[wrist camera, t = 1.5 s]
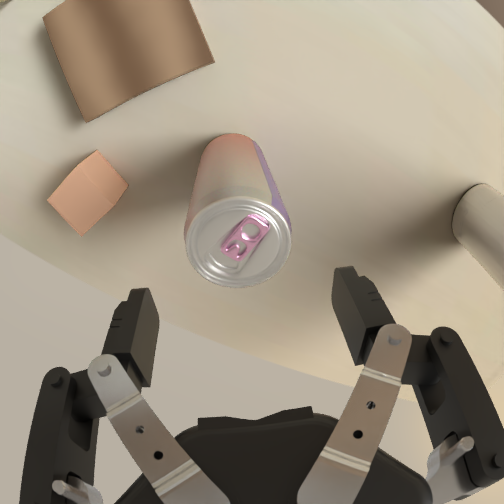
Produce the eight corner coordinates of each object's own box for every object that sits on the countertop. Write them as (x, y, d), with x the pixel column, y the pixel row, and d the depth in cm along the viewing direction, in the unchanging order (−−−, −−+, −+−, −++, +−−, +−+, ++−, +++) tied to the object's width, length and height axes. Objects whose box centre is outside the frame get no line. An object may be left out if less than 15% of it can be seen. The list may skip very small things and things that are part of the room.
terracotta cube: (97, 149, 27) (77, 165, 22) (128, 184, 29) (113, 206, 25) (68, 180, 28) (47, 200, 24) (98, 212, 30) (81, 236, 26)
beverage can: (276, 156, 29) (318, 236, 16) (238, 201, 31) (249, 305, 19) (225, 119, 26) (225, 171, 14) (188, 169, 29) (161, 258, 16)
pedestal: (170, -42, 17) (165, -52, 14) (215, 62, 23) (213, 61, 21) (57, 19, 18) (42, 17, 16) (98, 117, 25) (85, 123, 22)
